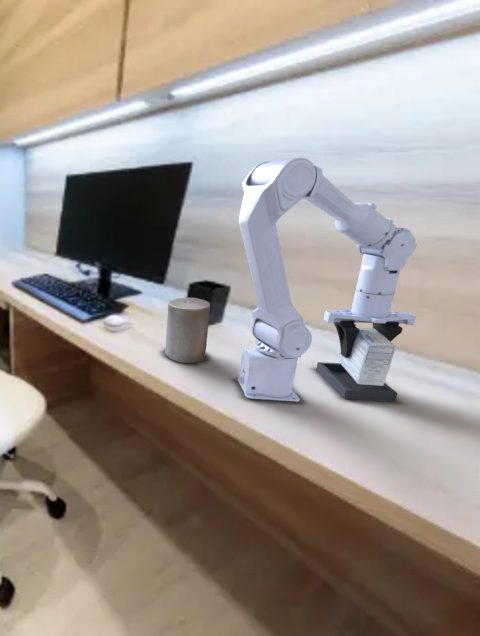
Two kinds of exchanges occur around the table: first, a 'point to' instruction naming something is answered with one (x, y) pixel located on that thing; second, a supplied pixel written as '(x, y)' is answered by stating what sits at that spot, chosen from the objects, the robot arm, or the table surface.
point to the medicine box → (369, 358)
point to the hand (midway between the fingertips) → (359, 356)
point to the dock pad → (353, 384)
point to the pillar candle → (187, 329)
